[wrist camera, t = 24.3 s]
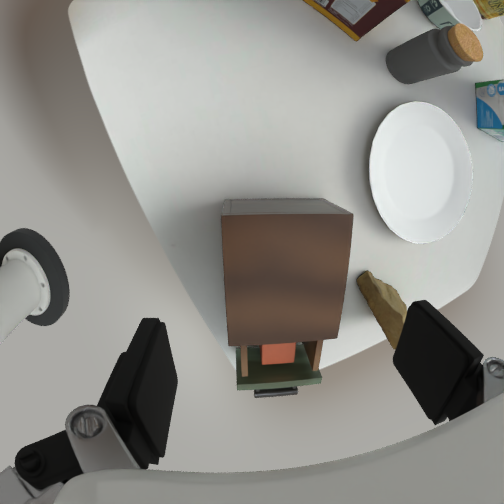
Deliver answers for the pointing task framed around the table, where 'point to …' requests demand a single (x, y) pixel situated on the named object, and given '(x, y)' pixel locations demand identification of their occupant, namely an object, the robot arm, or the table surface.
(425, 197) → the plate
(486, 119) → the milk carton
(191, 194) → the table surface
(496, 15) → the sauce bottle
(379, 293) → the rock
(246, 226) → the cabinet
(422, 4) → the food container
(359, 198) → the table surface
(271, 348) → the block
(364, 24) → the supplement box
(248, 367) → the drawer
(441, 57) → the bottle
